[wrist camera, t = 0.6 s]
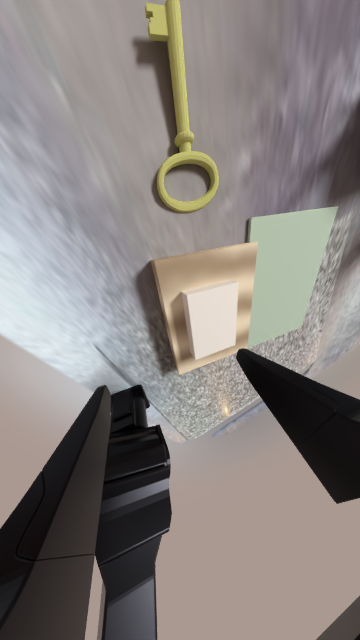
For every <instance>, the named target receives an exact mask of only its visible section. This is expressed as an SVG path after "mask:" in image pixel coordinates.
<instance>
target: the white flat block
mask: <svg viewBox="0 0 360 640" xmlns="http://www.w3.org/2000/svg"><path fill="white" fill-rule="evenodd" d="M181 294H182V300H183V307H184V314H185V320H186V327H187V334H188V340H189V347H190V352H191V354H192V355H193V357H194V359H195V360H197V359H200V358H203V357H205V356H208V355H210V354H213V353H216V352H218V351H221V350H224V349H226V348H229V347H231V346H234V345H236V324H237V303H238V282H237V281H232V280H225V281H221V282H217V283H213V284H209V285H205V286H201V287H197V288H193V289H189V290H185V291H181Z"/></svg>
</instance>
